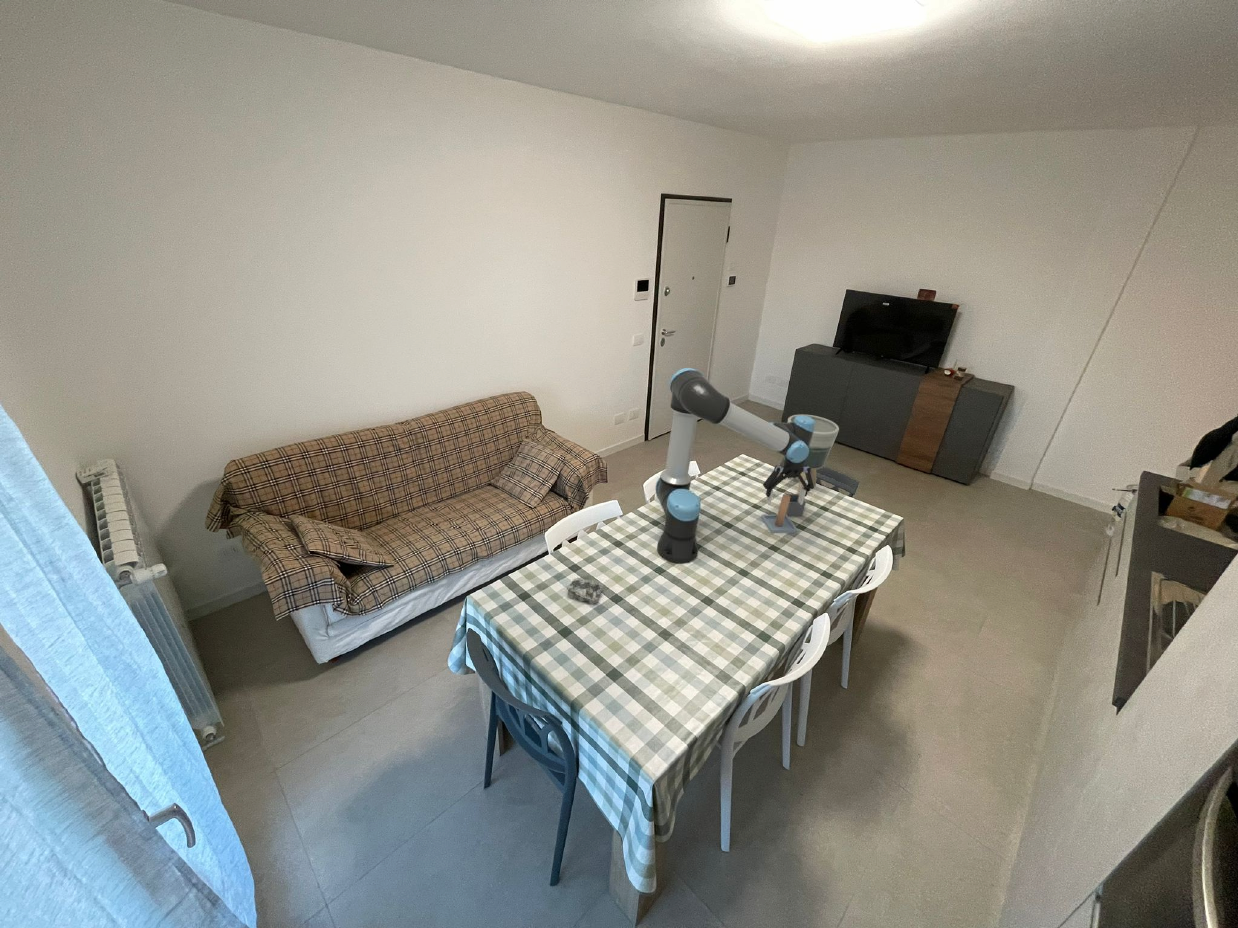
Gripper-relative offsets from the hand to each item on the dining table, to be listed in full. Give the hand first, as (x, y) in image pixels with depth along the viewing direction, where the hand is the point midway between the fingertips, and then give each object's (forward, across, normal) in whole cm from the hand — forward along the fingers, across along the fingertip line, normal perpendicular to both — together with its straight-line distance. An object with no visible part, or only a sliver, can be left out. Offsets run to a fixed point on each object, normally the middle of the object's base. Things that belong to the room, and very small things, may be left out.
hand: (784, 503), depth 198 cm
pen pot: (+11, +10, +10) cm, 17 cm away
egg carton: (+12, -82, -37) cm, 90 cm away
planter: (+11, +22, +31) cm, 40 cm away
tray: (+11, 0, 0) cm, 11 cm away
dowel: (+11, 0, 0) cm, 11 cm away
